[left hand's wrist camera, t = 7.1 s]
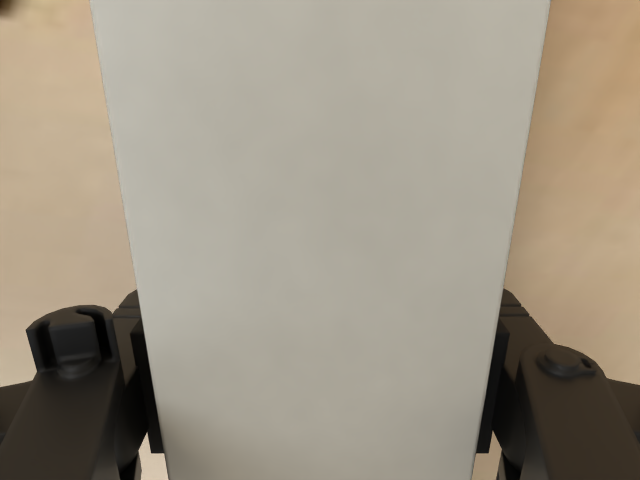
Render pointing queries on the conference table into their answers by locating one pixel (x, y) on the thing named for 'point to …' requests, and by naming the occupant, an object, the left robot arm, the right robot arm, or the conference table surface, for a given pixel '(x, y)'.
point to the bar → (320, 223)
